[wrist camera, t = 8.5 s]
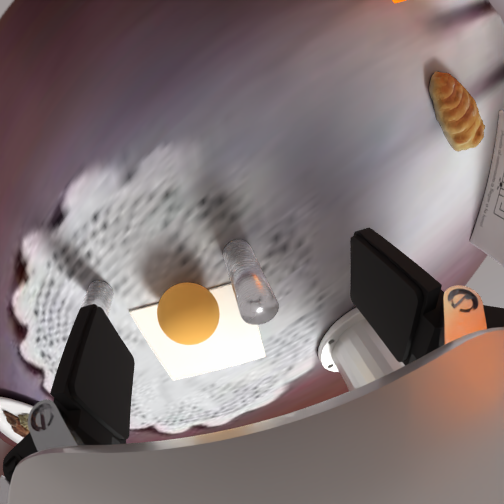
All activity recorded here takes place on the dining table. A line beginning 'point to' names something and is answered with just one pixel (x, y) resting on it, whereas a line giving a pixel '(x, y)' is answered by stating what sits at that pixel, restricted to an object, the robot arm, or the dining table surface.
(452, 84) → the pastry
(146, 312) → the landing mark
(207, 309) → the ball
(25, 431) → the plated food
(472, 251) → the dining table surface
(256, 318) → the post right
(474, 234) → the cereal box
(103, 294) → the post left
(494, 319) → the robot arm
